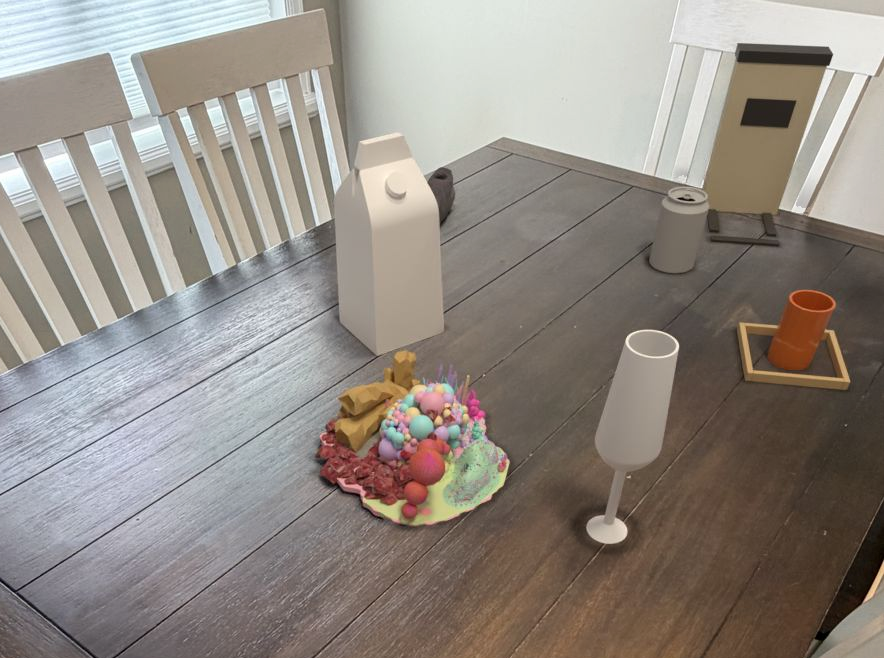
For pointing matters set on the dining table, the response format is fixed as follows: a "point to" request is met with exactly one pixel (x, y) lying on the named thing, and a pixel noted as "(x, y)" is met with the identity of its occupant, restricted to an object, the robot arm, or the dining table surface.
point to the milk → (388, 248)
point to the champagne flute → (634, 418)
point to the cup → (800, 329)
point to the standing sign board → (761, 131)
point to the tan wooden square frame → (786, 378)
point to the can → (679, 230)
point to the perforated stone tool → (442, 190)
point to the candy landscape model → (413, 447)
